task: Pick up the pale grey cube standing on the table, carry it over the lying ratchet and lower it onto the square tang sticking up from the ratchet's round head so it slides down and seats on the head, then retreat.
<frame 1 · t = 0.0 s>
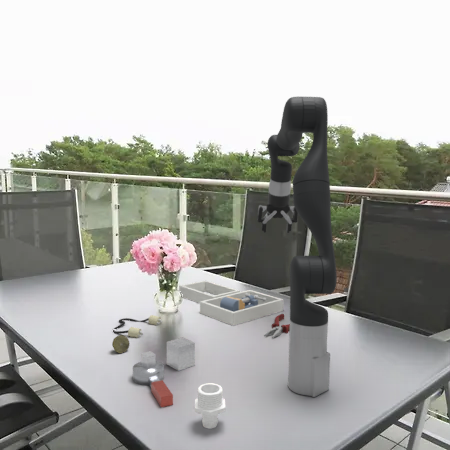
hand: (276, 231, 166), 31 cm above the table, tool tilted 20°, fingers open, 8 cm apart
vise: (242, 312, 173), resting in white tray
cable: (132, 330, 154), on the table
pipe fitting: (209, 425, 96), on the table
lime: (120, 352, 134), on the table
ratchet: (148, 377, 118), on the table
white tray: (242, 311, 173), on the table
pliers: (280, 329, 156), on the table
grey tray: (209, 298, 191), on the table
pale grey cube: (180, 364, 126), on the table
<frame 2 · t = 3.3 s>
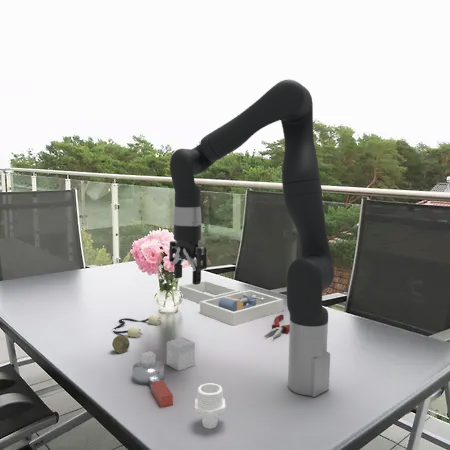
hand: (187, 281, 126), 23 cm above the table, tool pointing down, fingers open, 8 cm apart
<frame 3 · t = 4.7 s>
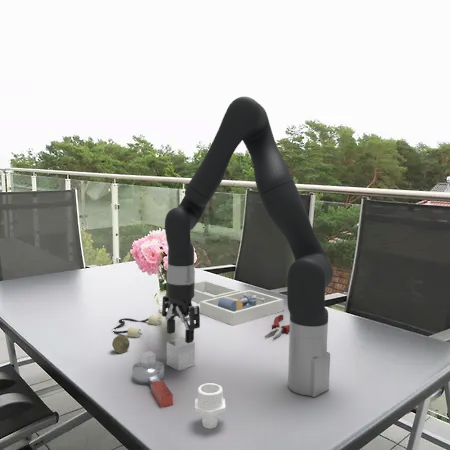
hand: (180, 337, 125), 8 cm above the table, tool pointing down, fingers open, 8 cm apart
nothing on the table moved.
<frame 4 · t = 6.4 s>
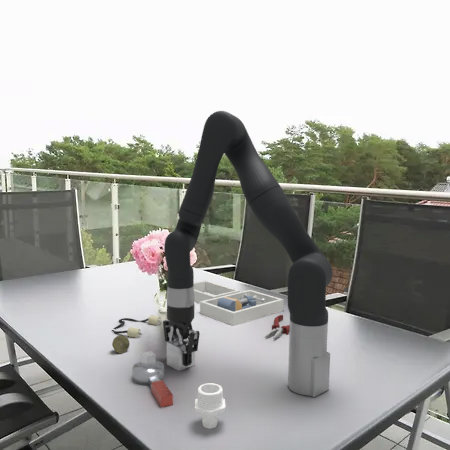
hand: (180, 361, 125), 1 cm above the table, tool pointing down, fingers closed on pale grey cube, 5 cm apart
pale grey cube: (180, 364, 126), on the table, touching gripper
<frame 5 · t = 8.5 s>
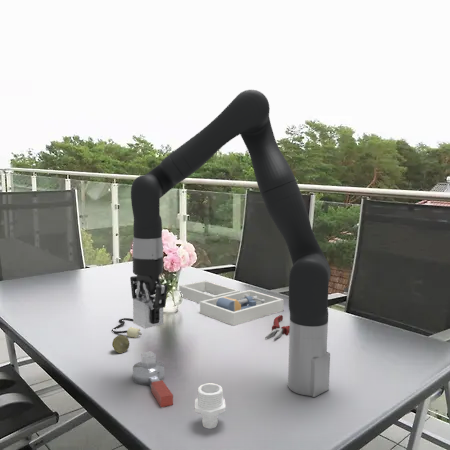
hand: (148, 319, 116), 15 cm above the table, tool pointing down, fingers closed on pale grey cube, 5 cm apart
pale grey cube: (148, 323, 116), point 14 cm above the table, touching gripper
when the fingers open (5 cm above the table, at t = 11.0 s): pale grey cube stays where it is, resting on ratchet.
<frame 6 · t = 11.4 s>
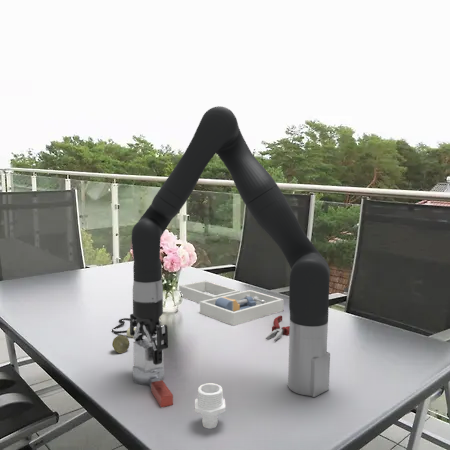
hand: (148, 358, 117), 5 cm above the table, tool pointing down, fingers open, 8 cm apart
pale grey cube: (148, 366, 117), point 3 cm above the table, touching ratchet
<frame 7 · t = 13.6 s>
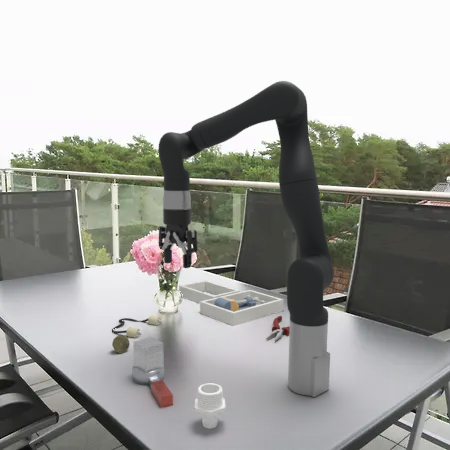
hand: (177, 265, 126), 27 cm above the table, tool pointing down, fingers open, 8 cm apart
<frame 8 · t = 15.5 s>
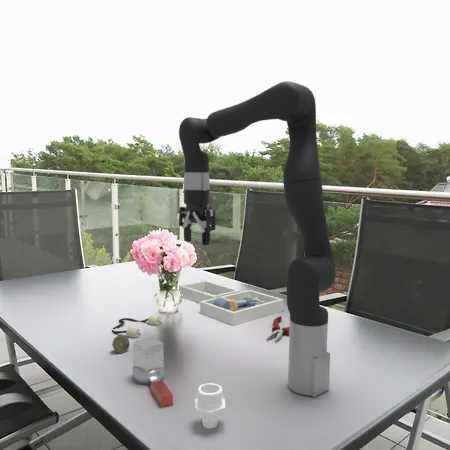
hand: (196, 243, 134), 32 cm above the table, tool pointing down, fingers open, 8 cm apart
at the end: pale grey cube 0.0 cm off-centre on the ratchet, point 3.0 cm above the ratchet's base; pale grey cube tilted 0°; the gripper is holding nothing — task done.
